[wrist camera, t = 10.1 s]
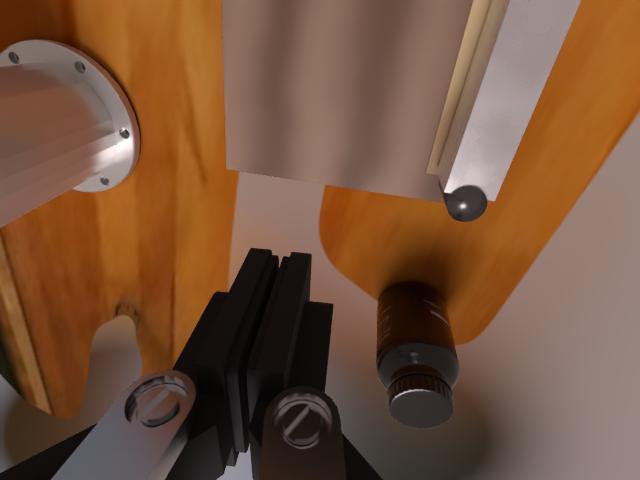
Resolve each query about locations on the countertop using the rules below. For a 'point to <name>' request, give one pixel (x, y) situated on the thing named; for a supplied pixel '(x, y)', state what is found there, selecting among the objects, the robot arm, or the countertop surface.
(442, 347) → the supplement bottle
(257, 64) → the stool seat
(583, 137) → the countertop surface
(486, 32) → the stool leg
